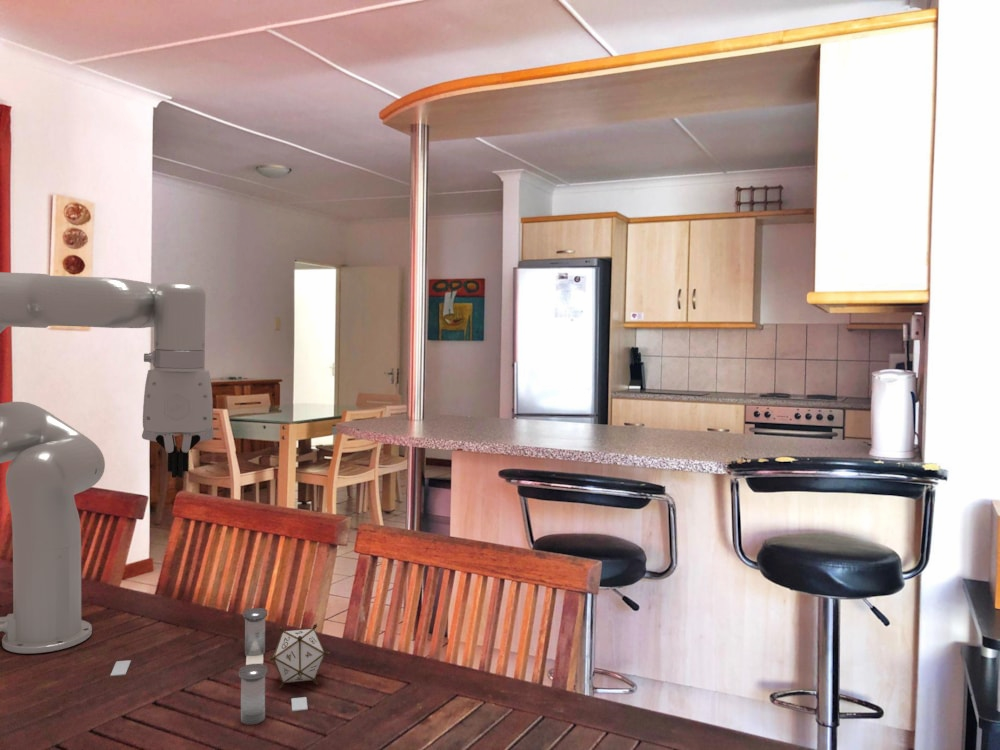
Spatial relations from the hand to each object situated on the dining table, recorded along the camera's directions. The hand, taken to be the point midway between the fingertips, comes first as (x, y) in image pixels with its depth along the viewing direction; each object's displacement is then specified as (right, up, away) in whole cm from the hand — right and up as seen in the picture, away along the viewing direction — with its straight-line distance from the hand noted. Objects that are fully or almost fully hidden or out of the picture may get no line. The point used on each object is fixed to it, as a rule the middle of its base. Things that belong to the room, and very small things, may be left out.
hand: (178, 475), depth 129 cm
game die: (+22, -28, -12) cm, 38 cm away
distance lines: (+10, -28, -14) cm, 33 cm away
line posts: (+16, -28, -13) cm, 35 cm away
